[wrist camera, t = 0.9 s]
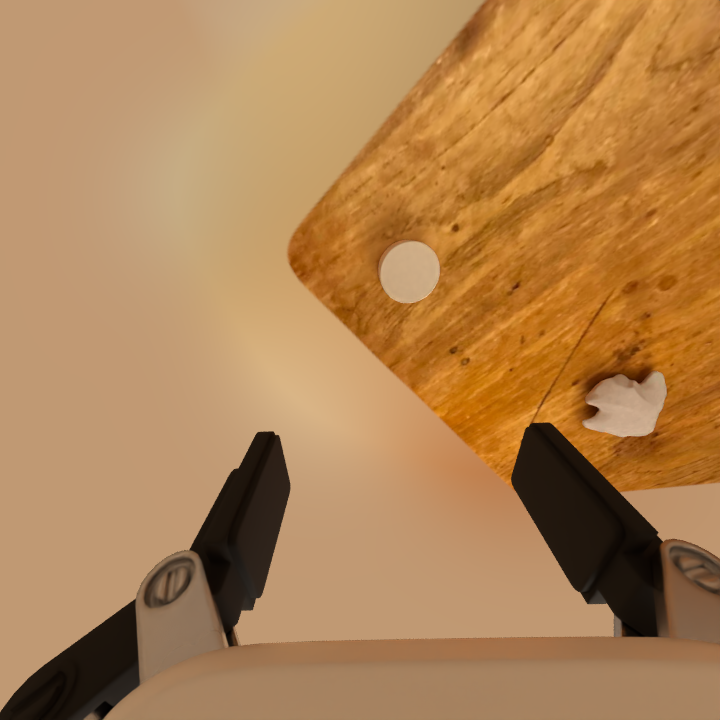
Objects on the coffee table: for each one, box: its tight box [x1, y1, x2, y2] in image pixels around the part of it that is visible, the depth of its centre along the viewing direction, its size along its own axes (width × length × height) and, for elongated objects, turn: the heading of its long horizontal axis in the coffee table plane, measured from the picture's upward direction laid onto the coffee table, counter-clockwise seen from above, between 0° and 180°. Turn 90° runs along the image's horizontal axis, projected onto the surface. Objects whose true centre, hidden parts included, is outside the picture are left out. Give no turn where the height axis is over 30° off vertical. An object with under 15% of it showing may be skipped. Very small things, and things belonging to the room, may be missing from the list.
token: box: [378, 240, 440, 303], centre depth 21 cm, size 4×4×2 cm
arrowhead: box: [583, 371, 667, 437], centre depth 26 cm, size 8×3×10 cm
